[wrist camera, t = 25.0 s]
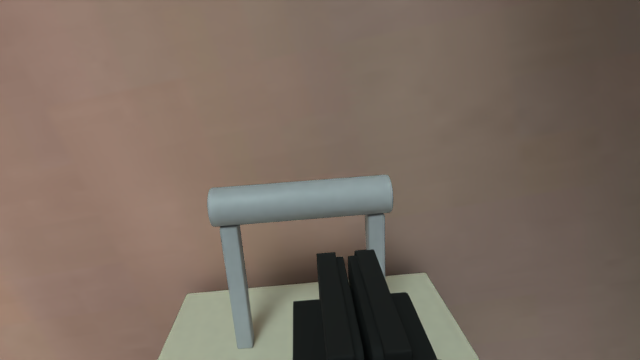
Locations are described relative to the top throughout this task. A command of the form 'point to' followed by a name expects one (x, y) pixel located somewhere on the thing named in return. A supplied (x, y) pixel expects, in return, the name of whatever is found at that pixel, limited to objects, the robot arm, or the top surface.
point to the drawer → (277, 301)
